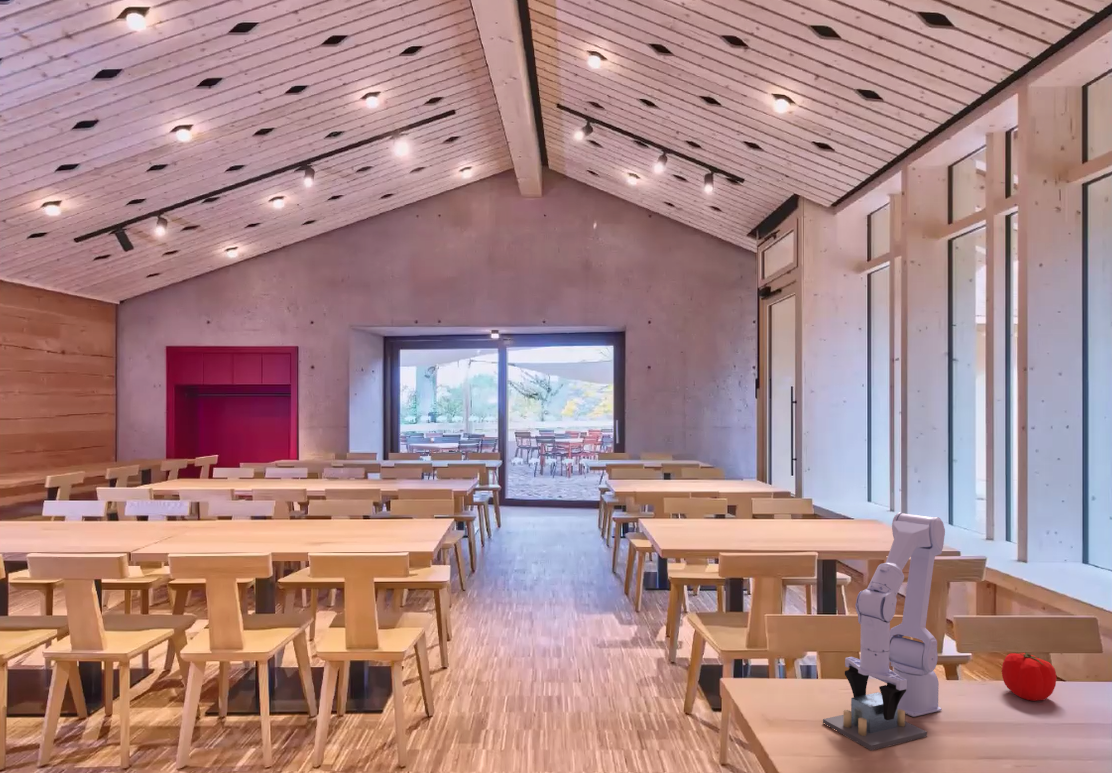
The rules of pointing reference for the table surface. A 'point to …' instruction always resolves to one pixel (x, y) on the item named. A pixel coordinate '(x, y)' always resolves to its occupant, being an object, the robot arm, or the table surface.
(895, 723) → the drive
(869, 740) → the grey pegged base plate
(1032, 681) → the tomato
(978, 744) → the table surface
